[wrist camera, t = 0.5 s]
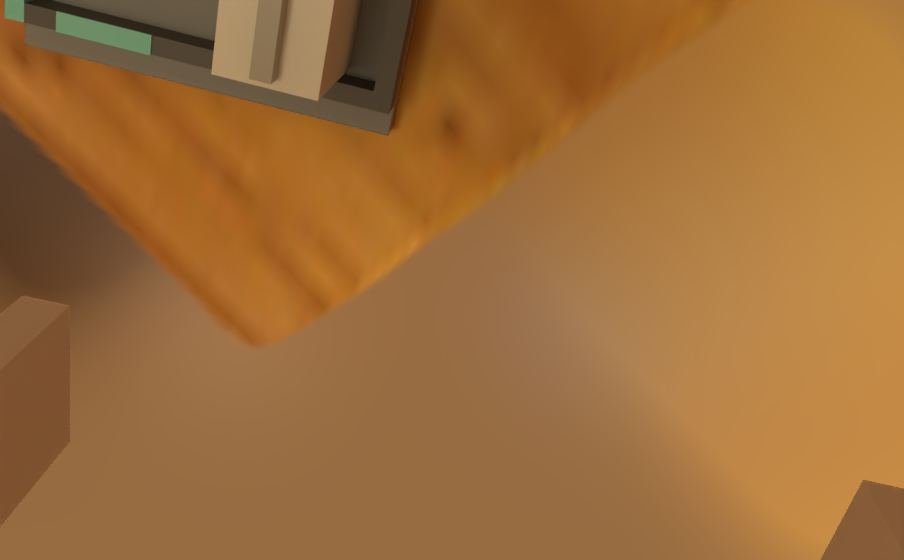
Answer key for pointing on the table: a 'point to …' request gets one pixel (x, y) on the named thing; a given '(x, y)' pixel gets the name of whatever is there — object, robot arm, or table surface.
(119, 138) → the table surface
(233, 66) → the beige handled cube
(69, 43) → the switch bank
